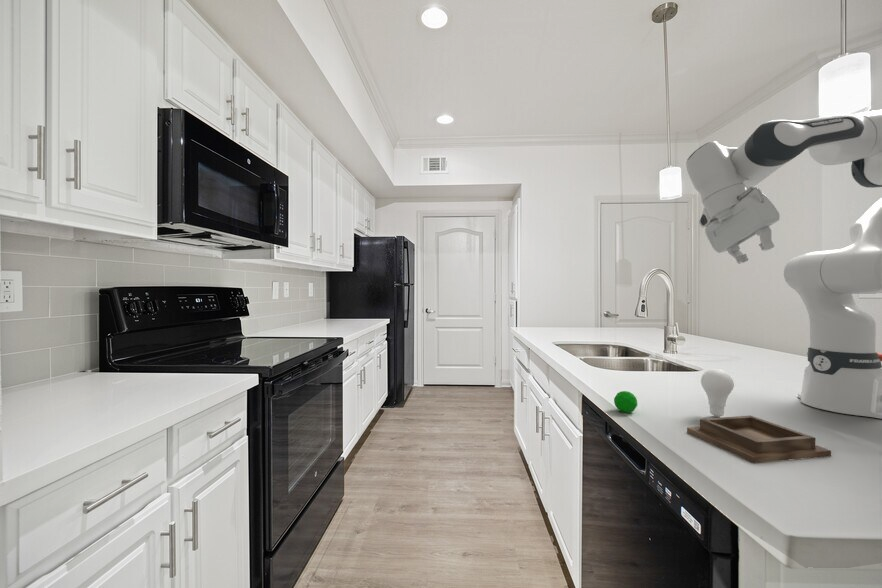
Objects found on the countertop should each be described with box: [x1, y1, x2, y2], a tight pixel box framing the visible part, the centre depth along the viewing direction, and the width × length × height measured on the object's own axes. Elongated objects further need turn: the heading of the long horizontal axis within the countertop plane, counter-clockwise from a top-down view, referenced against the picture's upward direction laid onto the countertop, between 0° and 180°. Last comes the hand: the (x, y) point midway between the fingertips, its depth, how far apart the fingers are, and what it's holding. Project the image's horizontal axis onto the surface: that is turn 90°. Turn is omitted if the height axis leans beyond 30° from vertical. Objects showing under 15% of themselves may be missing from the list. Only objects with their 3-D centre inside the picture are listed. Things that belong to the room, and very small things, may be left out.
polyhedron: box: [613, 390, 638, 414], centre depth 91 cm, size 5×5×5 cm
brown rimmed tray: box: [686, 415, 832, 464], centre depth 73 cm, size 16×14×3 cm
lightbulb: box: [700, 368, 735, 418], centre depth 87 cm, size 6×6×11 cm
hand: (755, 256), depth 89 cm, fingers open, 8 cm apart
